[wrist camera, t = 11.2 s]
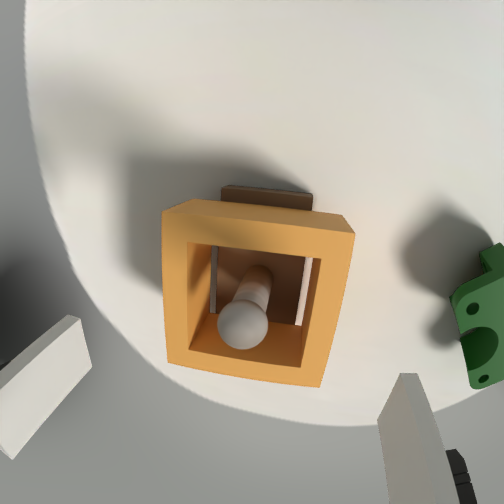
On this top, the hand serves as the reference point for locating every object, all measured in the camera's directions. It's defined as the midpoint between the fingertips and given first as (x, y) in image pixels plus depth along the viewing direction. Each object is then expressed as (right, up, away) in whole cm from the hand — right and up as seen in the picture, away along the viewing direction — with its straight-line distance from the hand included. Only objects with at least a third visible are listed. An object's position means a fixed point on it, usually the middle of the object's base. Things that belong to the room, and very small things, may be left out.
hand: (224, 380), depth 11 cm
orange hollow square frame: (+1, +3, +10) cm, 11 cm away
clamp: (+21, 0, +11) cm, 24 cm away
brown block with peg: (+2, +3, +13) cm, 13 cm away
